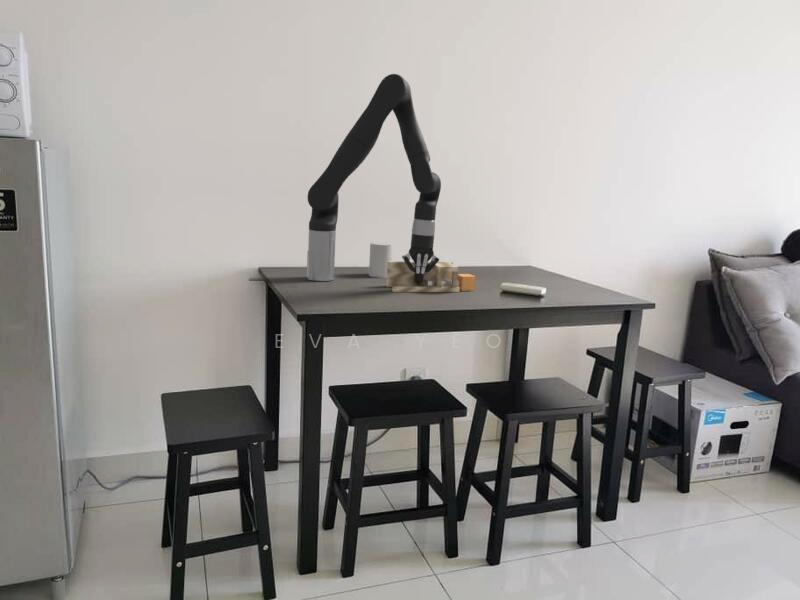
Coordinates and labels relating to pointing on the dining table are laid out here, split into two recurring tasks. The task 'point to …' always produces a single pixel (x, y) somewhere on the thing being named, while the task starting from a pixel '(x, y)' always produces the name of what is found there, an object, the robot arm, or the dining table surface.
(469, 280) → the block
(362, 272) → the dining table surface
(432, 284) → the grey long rectangular bar
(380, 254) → the cup
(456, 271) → the bridge channel
